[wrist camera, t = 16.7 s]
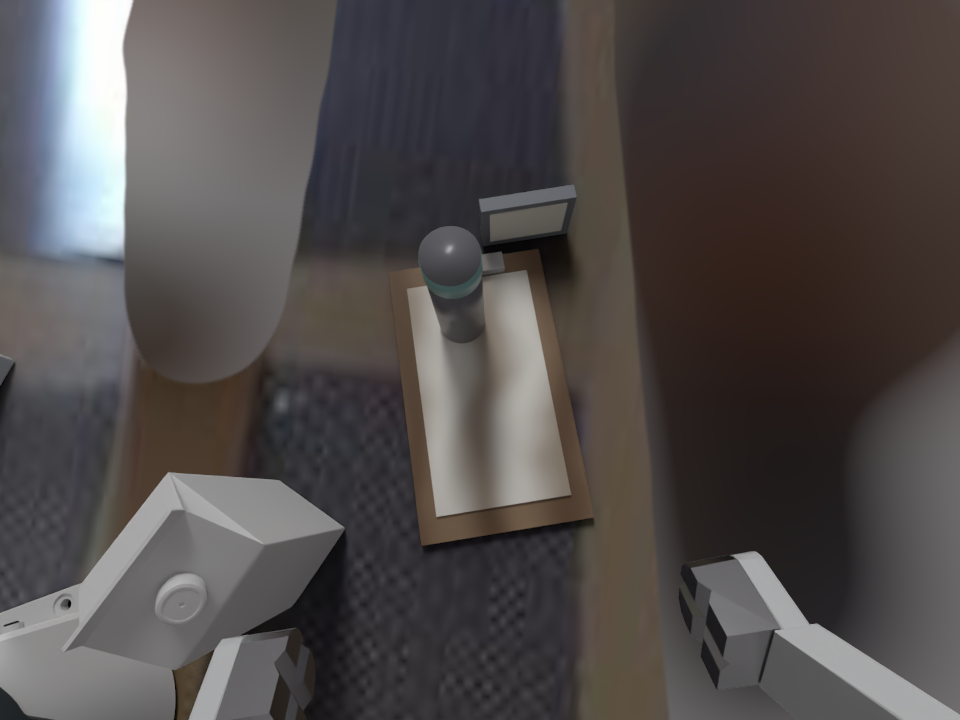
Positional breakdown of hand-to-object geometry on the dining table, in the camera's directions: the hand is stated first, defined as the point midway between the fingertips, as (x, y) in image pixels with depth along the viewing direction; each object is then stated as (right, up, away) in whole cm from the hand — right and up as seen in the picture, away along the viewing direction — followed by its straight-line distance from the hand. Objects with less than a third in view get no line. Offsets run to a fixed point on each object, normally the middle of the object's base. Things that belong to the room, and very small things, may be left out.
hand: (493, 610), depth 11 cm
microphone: (-2, +9, +34) cm, 35 cm away
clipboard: (0, +3, +33) cm, 33 cm away
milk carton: (-16, -10, +31) cm, 36 cm away
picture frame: (+4, +17, +37) cm, 41 cm away
